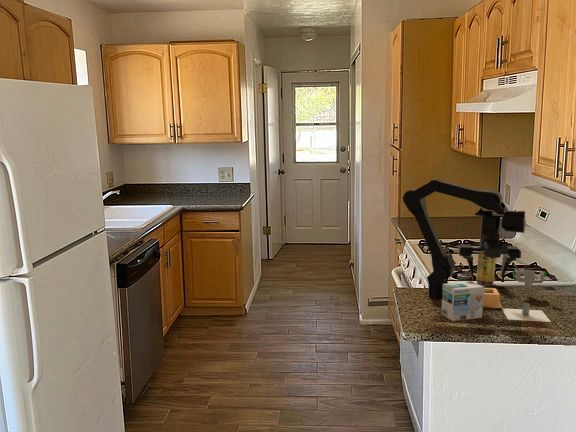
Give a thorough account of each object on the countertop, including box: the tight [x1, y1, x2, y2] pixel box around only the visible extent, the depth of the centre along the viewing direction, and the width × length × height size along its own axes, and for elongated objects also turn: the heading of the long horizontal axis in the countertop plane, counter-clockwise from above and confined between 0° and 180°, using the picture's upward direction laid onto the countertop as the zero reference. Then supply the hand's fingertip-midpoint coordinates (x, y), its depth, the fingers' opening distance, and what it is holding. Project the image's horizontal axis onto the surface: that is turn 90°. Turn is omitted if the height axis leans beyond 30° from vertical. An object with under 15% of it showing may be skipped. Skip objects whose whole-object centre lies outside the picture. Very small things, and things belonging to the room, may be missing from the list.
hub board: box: [501, 302, 552, 323], centre depth 169 cm, size 12×10×4 cm
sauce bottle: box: [476, 250, 497, 286], centre depth 204 cm, size 6×6×20 cm
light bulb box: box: [440, 280, 485, 324], centre depth 168 cm, size 11×7×11 cm, turn 106°
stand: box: [483, 290, 504, 309], centre depth 180 cm, size 9×9×5 cm
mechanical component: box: [512, 268, 547, 298], centre depth 186 cm, size 3×10×10 cm, turn 78°
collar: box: [483, 287, 501, 307], centre depth 180 cm, size 7×7×4 cm
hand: (487, 276), depth 179 cm, fingers open, 9 cm apart
